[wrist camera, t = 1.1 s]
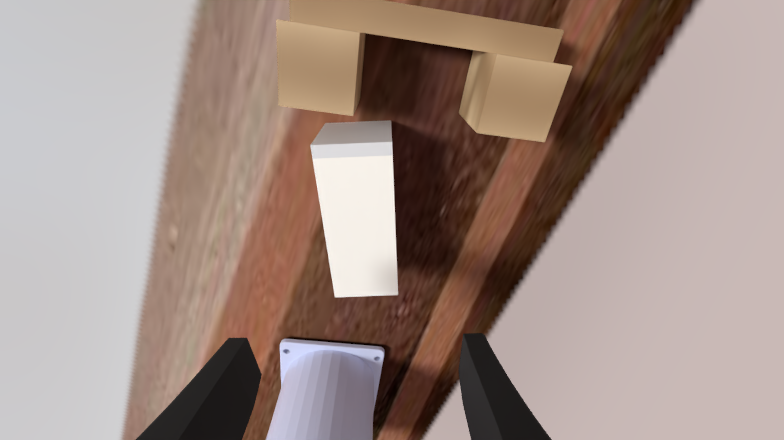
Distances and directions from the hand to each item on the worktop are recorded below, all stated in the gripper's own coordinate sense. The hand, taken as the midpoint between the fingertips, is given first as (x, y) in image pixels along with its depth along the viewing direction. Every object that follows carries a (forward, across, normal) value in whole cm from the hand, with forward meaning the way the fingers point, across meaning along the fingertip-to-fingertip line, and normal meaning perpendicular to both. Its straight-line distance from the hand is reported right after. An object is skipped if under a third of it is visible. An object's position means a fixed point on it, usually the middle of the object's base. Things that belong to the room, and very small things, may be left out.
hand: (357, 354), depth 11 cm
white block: (+10, 0, 0) cm, 10 cm away
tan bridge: (+11, -2, -7) cm, 13 cm away
